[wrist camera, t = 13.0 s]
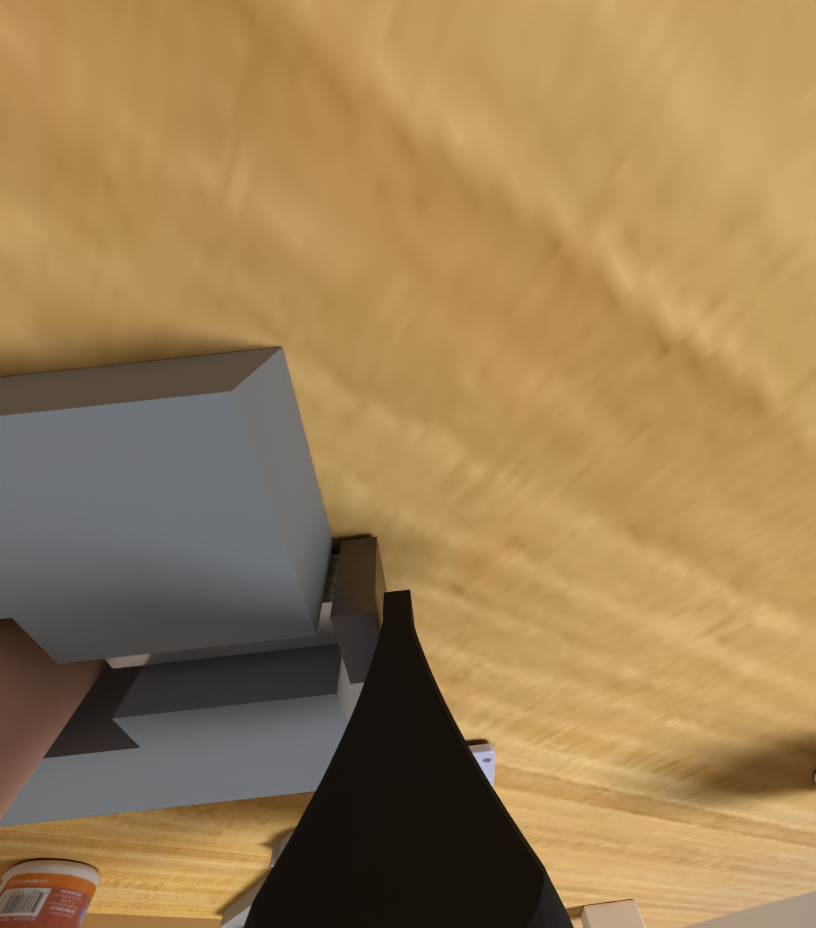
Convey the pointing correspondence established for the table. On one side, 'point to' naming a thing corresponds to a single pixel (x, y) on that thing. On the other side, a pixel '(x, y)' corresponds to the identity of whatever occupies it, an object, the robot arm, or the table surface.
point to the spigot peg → (33, 704)
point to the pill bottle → (46, 894)
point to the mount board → (170, 580)
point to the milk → (612, 915)
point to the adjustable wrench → (250, 893)
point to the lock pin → (341, 619)
